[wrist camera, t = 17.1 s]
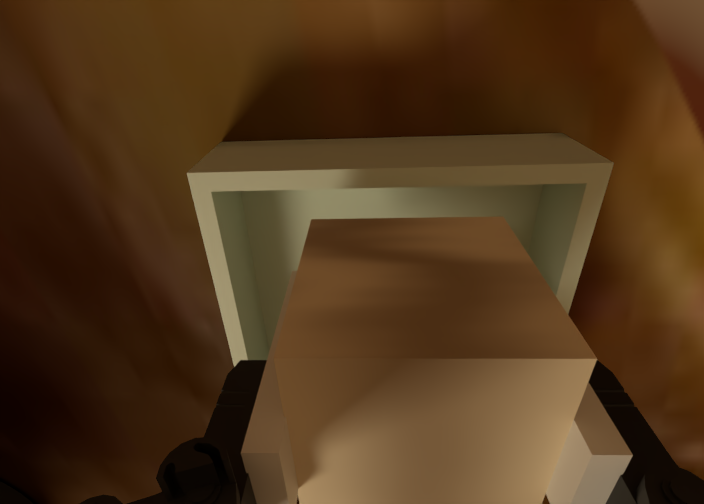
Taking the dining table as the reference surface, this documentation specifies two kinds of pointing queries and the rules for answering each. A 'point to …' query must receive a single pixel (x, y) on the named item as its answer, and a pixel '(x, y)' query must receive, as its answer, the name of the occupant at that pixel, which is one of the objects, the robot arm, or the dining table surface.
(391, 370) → the beech block
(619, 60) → the dining table surface
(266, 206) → the tray
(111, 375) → the dining table surface
